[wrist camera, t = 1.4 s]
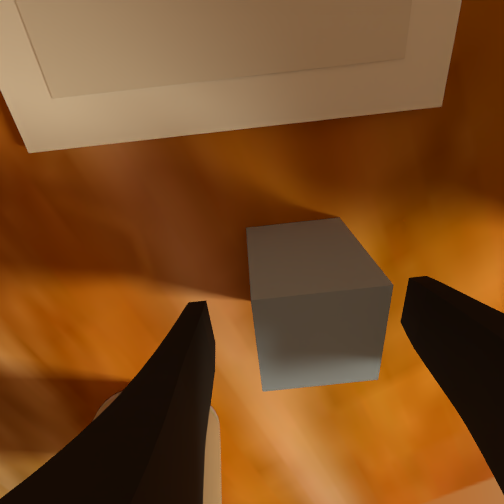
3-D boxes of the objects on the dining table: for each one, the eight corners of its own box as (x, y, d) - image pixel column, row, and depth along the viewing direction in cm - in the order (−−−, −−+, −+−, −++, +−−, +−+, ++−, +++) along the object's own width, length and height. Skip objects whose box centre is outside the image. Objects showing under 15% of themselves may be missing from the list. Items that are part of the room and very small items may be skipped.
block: (339, 217, 13) (393, 285, 8) (335, 292, 15) (377, 379, 10) (246, 227, 13) (250, 300, 8) (254, 300, 15) (262, 391, 10)
